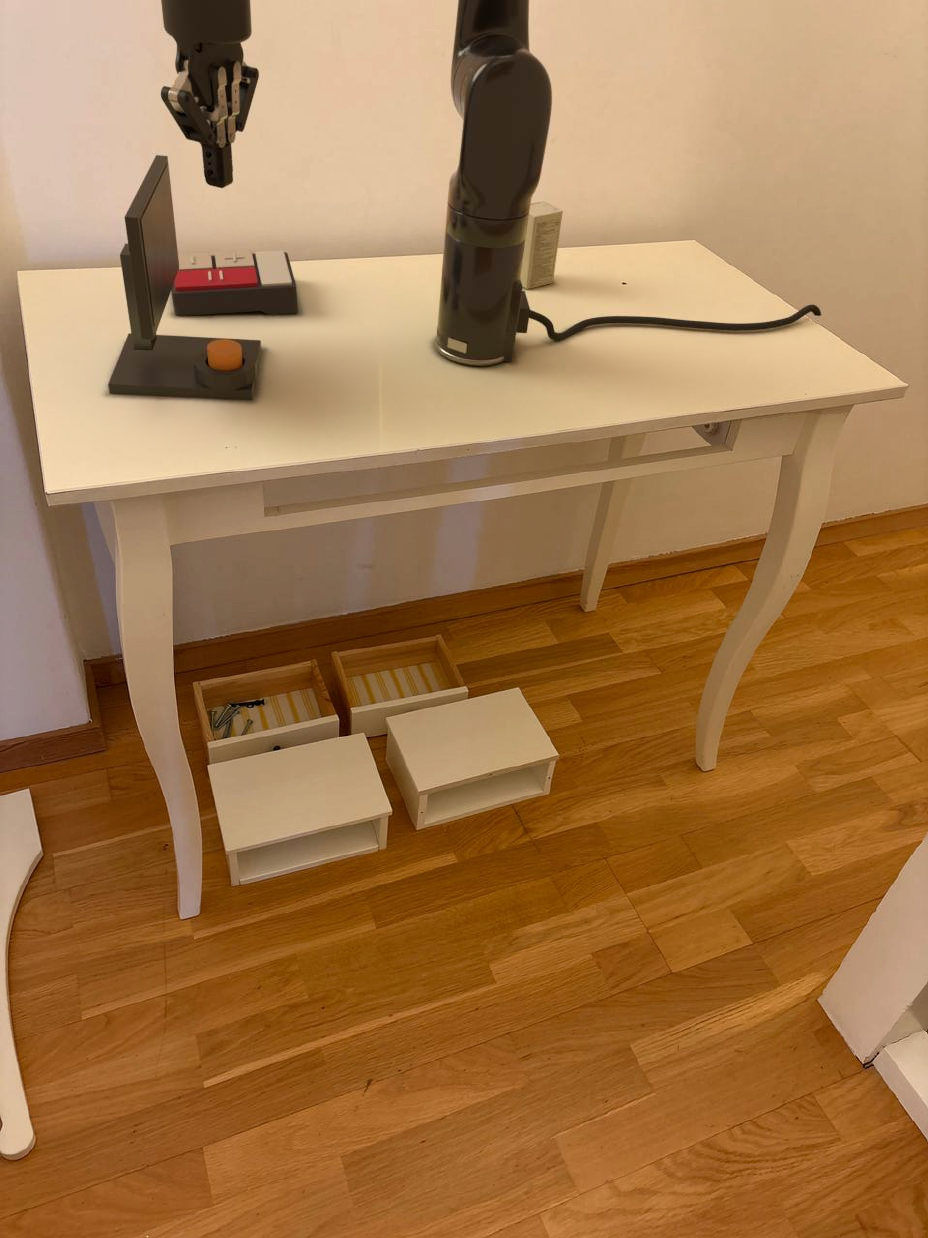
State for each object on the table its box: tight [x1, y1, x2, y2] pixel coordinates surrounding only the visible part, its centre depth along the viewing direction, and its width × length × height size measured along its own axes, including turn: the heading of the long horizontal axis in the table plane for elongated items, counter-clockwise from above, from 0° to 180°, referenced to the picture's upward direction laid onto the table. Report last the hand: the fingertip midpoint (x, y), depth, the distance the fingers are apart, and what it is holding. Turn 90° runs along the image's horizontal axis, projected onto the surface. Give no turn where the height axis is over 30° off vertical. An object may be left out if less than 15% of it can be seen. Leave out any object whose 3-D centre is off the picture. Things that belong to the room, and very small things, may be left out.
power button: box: [207, 338, 242, 371], centre depth 103 cm, size 4×4×2 cm
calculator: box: [170, 250, 299, 317], centre depth 121 cm, size 11×4×15 cm
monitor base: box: [107, 332, 262, 401], centre depth 106 cm, size 15×12×3 cm
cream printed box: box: [520, 200, 563, 290], centre depth 132 cm, size 5×4×10 cm
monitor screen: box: [124, 154, 179, 340], centre depth 98 cm, size 2×18×12 cm, turn 4°
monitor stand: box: [119, 243, 158, 350], centre depth 101 cm, size 2×3×10 cm, turn 5°
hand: (219, 184), depth 93 cm, fingers closed
